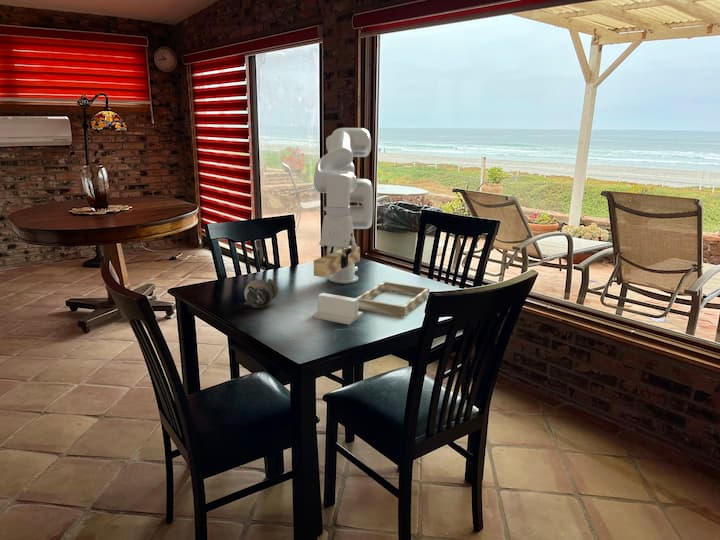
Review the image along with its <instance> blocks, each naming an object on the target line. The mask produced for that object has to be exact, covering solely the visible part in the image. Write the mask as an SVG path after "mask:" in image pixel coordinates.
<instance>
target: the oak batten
mask: <svg viewBox="0 0 720 540" xmlns="http://www.w3.org/2000/svg"><path fill="white" fill-rule="evenodd" d="M349 248H351V246H349ZM341 256H343V254H342V249H341V250H338V251H336V252H333V253H331V254H326V255H323V256H321V257H319V258H316V259H314V260H313V277H321V278H327V277H329V276H330V275H332V274H333V273H335V272H337V271H340V270H342V269H344V268H341ZM360 261H361V247H360V246H358V248H357V249H355V250H353V251H352V252H351V253H350V254H349V255H348V265H347V267H348V266H350V265H352V264H354V263H355V264H356V263H358V262H360ZM345 268H346V267H345Z"/></svg>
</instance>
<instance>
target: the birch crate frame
mask: <svg viewBox="0 0 720 540" xmlns="http://www.w3.org/2000/svg"><path fill="white" fill-rule="evenodd" d="M389 291H392V292H391V293H395V292H398V293H397V294H401V293H403V294H404V295H408V294H410V295H409V296H414V295H416V296H414V297H413V298H411V299H410V300H409V301H407V302H406V303H405V304H404V305H398V304H393V303H388V302H381V301H375V300H373V299H374V298H376V297H378V296H379V295H381V294H382V292H383V293H384V292H389ZM428 293H429V294H430V288H429V287H423V286H417V285H410V284H402V283H396V282H389V281H385V280H384V281H382V282H381V283H379V284H377V285H376V286H374V287H372V288H371V289H369V290H368V291H365V292H364V293H362V294H361V295H359V296H357V297H355V298H356V299H358V310H362V311H370V312H375V313H380V314H385V315H391V316H396V317H401V316H403V318H405V317H406V316H407V315H408V314H410V313H411V312H412V311H413V310H414V309H416V308H417V307H419V306H420V305H421V304H422V303H424V300H425V299H426V300H427V299H428V298H427V296H428ZM403 294H402V295H403ZM426 300H425V301H426ZM419 304H420V305H419ZM409 312H410V313H409ZM404 316H405V317H404Z"/></svg>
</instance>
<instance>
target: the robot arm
mask: <svg viewBox="0 0 720 540" xmlns="http://www.w3.org/2000/svg"><path fill="white" fill-rule="evenodd" d="M325 140H326V141H325V144H326V151H327V153H326V154H325V155H323V156H321V157H320V158H319V159H318V161H316V162H317V163H316V164H315V168H314V173H313V187H314V190H315V191H316V192H317V193H320V194H326V206H324V207H323V212H326V213H325V214H324V216H323V221H322V225H321V238H320V241H319V243H318V244H319V246H321V247H322V248H323V249H324V251H325V252H326V255H328V254H331V253H333V252H336V251H338V250H341V249H342V254H343V256H341V268H344V269H342V270H340V271H337V272H335V273H333V274H331V275H329V276H328V281H330V282H332V283H335V284H352V283H356V282H358V281H359V276H358V275H356V274H355V273H356V272H357V271H358V270H359V267H358V266H356V265H355V264H356V263H354V264H352V265H350V266H348V267H347V265H348V255H349V254H350V253H351V252H352V251H353V250H355V249H357V248H358V247H359V246H358V245H357V243H356V239H355V235H354V233H355V231H354V230H360V229H361V230H364V229H365V230H366V229H370V228H371V227H372V224H373V217H374V216H373V212H374V208H373V207H374V206H373V204H374V194H373V193H374V190H373V183H372V182H371V180H369V178H368V179H367V178H357V176H356V175H355V165H354V163H353V160H354V158H356V157H357V158H366V157H368V156H369V155H370V153H371V151H372V138H371V134H370V131H369V130H368V129H366V128H364V127H339V128H336V129H335V130H333V131H332V133H331V135H328V136H327V137H326V139H325ZM351 203H360V204H361V205H351ZM349 246H351V248H349ZM345 267H346V268H345Z"/></svg>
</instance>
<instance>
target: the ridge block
mask: <svg viewBox="0 0 720 540" xmlns="http://www.w3.org/2000/svg"><path fill="white" fill-rule="evenodd" d="M356 298H357V297H355V298H354V297H348V296H344V295H337V294H331V293H326V292H321V293H319V294H318V295H317V309H318V310H317V311H316V312H314V313H312V318H314V319H319V320H323V321H324V320H325V321H328V322H334V323H339V324H344V325H348V326H350V325H351V324H353V323H355V322H356V321H357V320H358V319H360V318H362V317H363V316H364V312H363V311H359V309H358V299H356Z"/></svg>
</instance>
